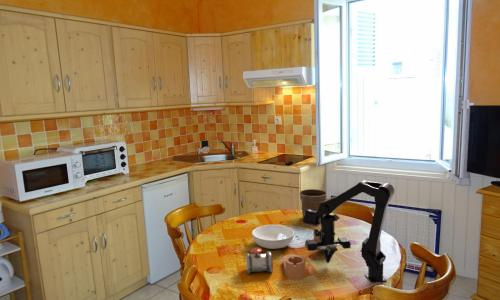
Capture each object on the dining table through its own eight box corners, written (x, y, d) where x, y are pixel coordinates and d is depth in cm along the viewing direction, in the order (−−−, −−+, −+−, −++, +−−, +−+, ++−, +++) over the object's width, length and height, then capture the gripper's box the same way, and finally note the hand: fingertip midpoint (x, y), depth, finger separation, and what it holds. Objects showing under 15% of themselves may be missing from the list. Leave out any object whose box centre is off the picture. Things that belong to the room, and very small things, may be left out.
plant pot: (311, 212, 230) (311, 187, 227) (332, 218, 218) (332, 192, 215) (293, 218, 220) (293, 192, 217) (314, 225, 207) (314, 198, 205)
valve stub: (270, 266, 162) (269, 244, 161) (273, 275, 154) (272, 253, 152) (246, 268, 161) (245, 246, 160) (248, 277, 153) (247, 255, 151)
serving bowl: (289, 256, 171) (288, 242, 170) (246, 251, 178) (246, 237, 176) (298, 238, 190) (297, 226, 189) (259, 234, 197) (259, 222, 196)
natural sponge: (335, 250, 175) (335, 230, 173) (328, 257, 168) (328, 237, 166) (317, 246, 180) (317, 227, 178) (310, 253, 173) (309, 233, 171)
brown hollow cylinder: (307, 279, 149) (306, 264, 148) (286, 280, 149) (286, 264, 148) (300, 259, 167) (300, 245, 166) (282, 260, 167) (281, 246, 166)
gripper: (342, 220, 166) (342, 252, 168) (302, 223, 164) (302, 255, 167) (351, 229, 155) (350, 264, 157) (308, 232, 153) (308, 267, 156)
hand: (327, 262), depth 160 cm, fingers closed
